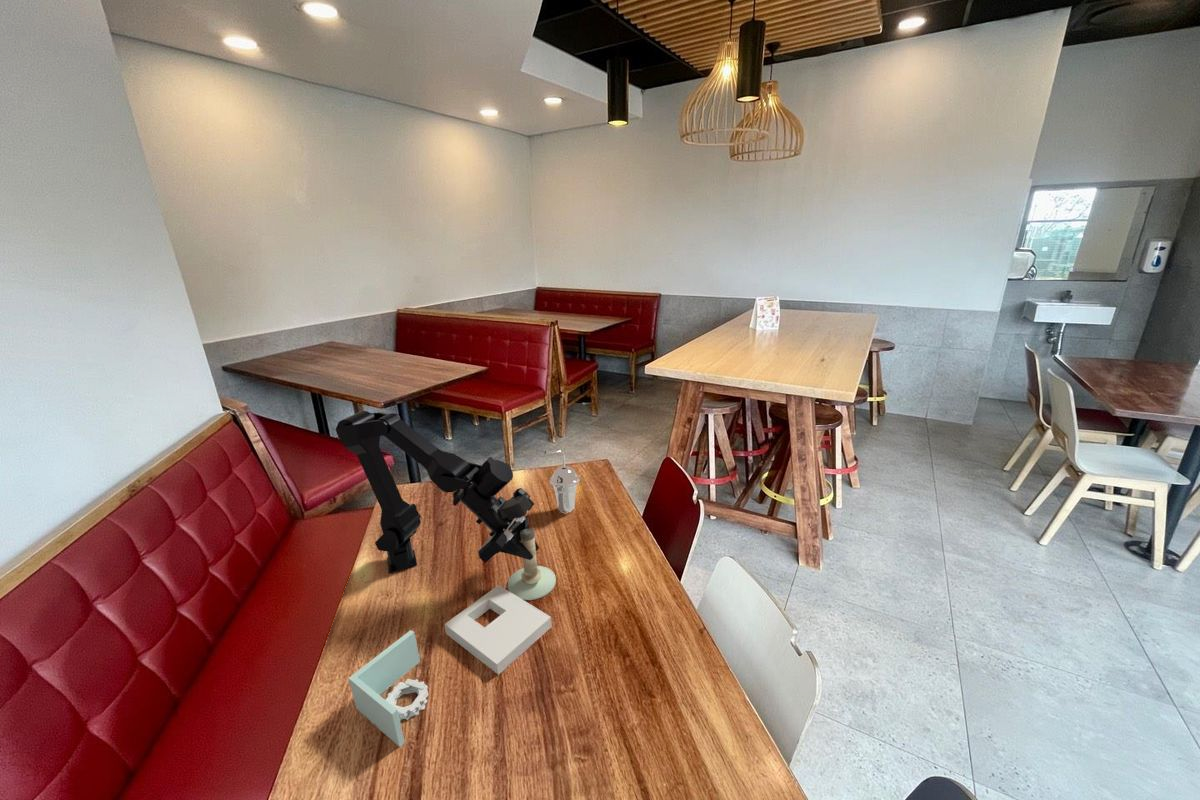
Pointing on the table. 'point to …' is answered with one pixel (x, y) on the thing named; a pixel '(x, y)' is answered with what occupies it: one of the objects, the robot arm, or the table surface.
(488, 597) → the socket plate
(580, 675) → the table surface
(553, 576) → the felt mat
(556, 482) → the cup with straw
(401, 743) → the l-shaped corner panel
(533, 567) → the key peg
